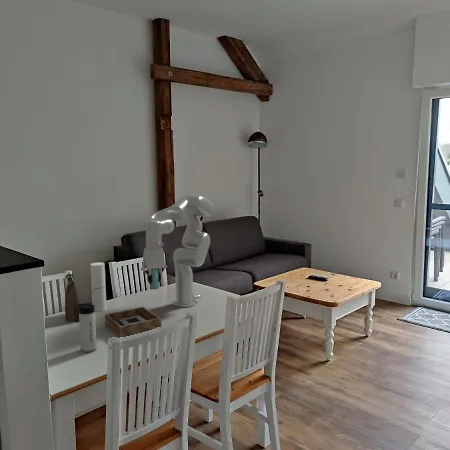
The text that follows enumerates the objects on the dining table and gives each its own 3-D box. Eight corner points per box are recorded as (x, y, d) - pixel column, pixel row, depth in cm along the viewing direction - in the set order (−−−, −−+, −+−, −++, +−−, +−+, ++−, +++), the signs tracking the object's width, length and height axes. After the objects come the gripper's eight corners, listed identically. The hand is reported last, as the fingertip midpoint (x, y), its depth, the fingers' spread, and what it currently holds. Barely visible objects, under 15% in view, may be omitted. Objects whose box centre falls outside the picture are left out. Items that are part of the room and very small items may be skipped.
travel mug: (82, 347, 188) (79, 302, 185) (97, 346, 188) (95, 301, 185) (78, 353, 181) (76, 306, 179) (94, 352, 182) (92, 306, 179)
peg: (156, 287, 220) (156, 267, 218) (159, 288, 216) (159, 268, 215) (149, 288, 217) (148, 268, 216) (152, 289, 214) (152, 269, 213)
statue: (62, 322, 216) (60, 272, 214) (67, 317, 224) (66, 269, 221) (79, 322, 216) (78, 272, 214) (84, 317, 224) (83, 269, 222)
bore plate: (138, 320, 216) (138, 315, 215) (147, 327, 207) (147, 321, 207) (118, 325, 210) (118, 319, 209) (126, 332, 201) (126, 326, 201)
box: (143, 318, 222) (143, 306, 221) (161, 330, 206) (161, 318, 205) (105, 326, 211) (104, 314, 210) (120, 340, 195) (120, 327, 194)
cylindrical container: (102, 312, 232) (100, 265, 228) (90, 311, 233) (87, 265, 229) (108, 307, 238) (106, 262, 235) (96, 306, 240) (94, 262, 236)
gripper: (165, 243, 222) (166, 278, 224) (134, 246, 212) (135, 283, 215) (172, 245, 216) (173, 281, 218) (141, 248, 206) (141, 286, 209)
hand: (154, 281), depth 216 cm, fingers closed on peg, 4 cm apart
